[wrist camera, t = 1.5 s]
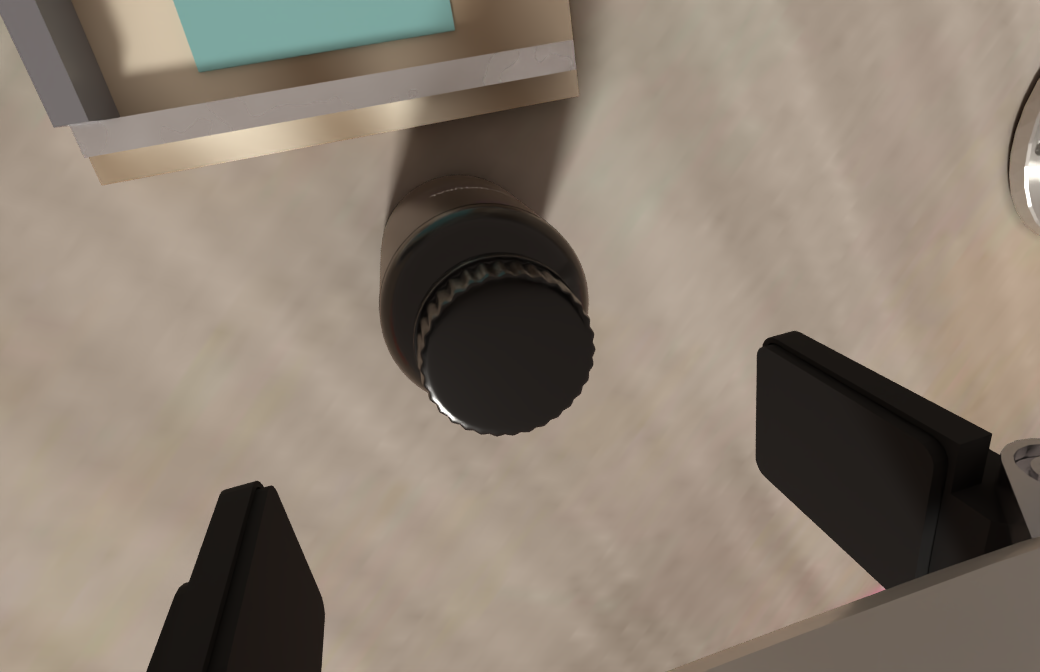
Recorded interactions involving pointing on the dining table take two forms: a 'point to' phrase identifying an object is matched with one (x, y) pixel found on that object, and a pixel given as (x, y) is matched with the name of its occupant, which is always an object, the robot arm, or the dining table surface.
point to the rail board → (278, 71)
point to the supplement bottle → (484, 306)
